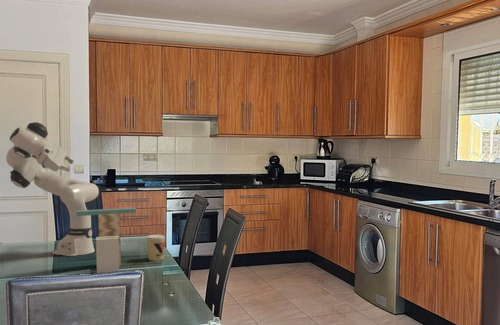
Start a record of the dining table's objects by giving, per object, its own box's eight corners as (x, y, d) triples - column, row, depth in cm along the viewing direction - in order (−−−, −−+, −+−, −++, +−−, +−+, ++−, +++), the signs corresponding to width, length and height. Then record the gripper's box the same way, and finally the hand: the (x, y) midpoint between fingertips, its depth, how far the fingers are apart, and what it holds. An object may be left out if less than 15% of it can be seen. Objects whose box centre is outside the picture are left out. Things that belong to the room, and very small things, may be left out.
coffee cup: (156, 261, 231) (156, 238, 231) (143, 259, 236) (142, 236, 236) (168, 258, 239) (168, 235, 238) (155, 255, 244) (155, 233, 243)
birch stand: (99, 268, 220) (98, 215, 219) (99, 264, 228) (98, 213, 227) (120, 266, 223) (119, 214, 222) (120, 262, 231) (119, 211, 230)
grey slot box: (96, 273, 210) (96, 240, 209) (97, 270, 217) (96, 237, 216) (119, 271, 213) (118, 238, 212) (118, 268, 220) (118, 235, 219)
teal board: (76, 215, 218) (76, 211, 218) (77, 214, 222) (77, 210, 222) (136, 212, 226) (135, 208, 226) (135, 211, 231) (135, 207, 231)
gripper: (46, 148, 226) (71, 162, 231) (36, 164, 208) (63, 179, 213) (53, 138, 225) (78, 153, 230) (43, 154, 206) (71, 169, 212)
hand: (71, 166), depth 221 cm, fingers open, 8 cm apart
